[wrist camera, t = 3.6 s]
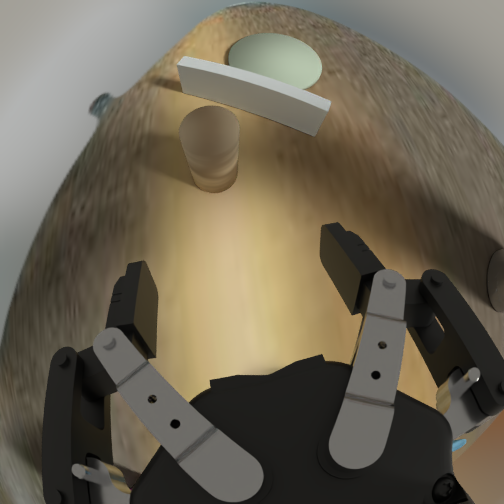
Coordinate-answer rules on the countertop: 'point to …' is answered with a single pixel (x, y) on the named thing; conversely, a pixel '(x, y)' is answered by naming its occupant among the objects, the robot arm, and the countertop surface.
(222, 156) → the beech cylinder
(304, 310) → the countertop surface
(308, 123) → the frosted wall
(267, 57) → the sage mat
